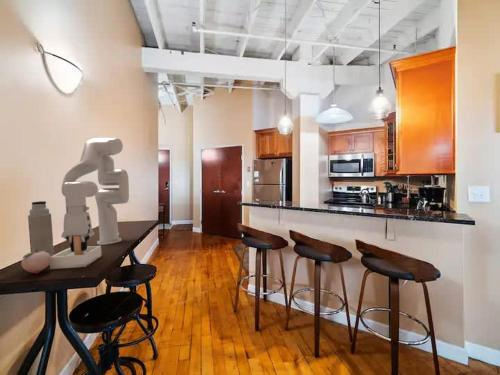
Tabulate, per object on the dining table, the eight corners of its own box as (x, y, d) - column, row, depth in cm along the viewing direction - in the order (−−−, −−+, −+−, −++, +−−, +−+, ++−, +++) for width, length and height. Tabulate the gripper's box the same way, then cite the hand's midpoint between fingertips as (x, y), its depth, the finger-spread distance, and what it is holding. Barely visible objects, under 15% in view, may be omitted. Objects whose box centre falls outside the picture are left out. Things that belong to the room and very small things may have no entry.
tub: (70, 258, 125) (69, 247, 125) (101, 256, 126) (100, 245, 126) (50, 269, 110) (49, 257, 110) (85, 266, 111) (84, 255, 111)
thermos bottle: (28, 268, 111) (23, 203, 110) (35, 263, 119) (30, 201, 117) (51, 265, 114) (47, 201, 113) (56, 260, 122) (52, 200, 120)
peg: (77, 256, 120) (75, 234, 119) (85, 255, 120) (84, 234, 120) (72, 259, 116) (71, 236, 116) (81, 258, 116) (80, 236, 116)
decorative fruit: (36, 278, 100) (33, 252, 100) (18, 277, 102) (15, 252, 101) (57, 269, 109) (56, 245, 109) (41, 268, 111) (39, 245, 110)
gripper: (99, 208, 122) (102, 247, 123) (61, 209, 120) (64, 249, 121) (91, 210, 114) (94, 251, 115) (51, 212, 113) (54, 254, 113)
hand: (79, 250), depth 118 cm, fingers closed on peg, 3 cm apart
